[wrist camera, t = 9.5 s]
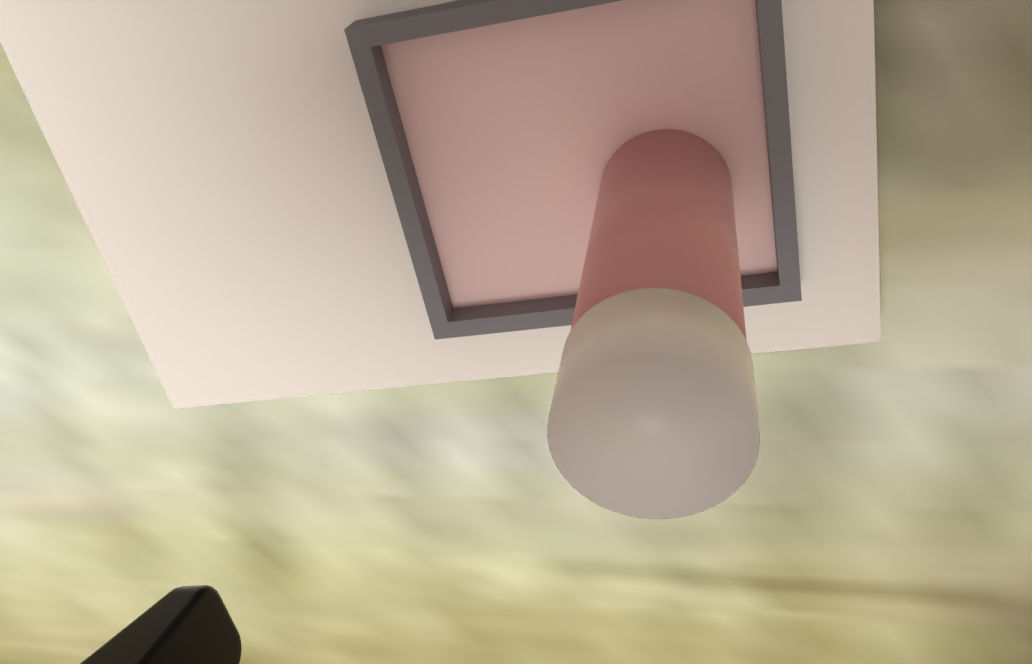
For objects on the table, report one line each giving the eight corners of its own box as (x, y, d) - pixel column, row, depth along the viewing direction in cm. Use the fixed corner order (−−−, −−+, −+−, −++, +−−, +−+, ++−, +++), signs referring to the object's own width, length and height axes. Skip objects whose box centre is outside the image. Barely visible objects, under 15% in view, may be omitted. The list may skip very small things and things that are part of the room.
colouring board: (845, -776, 13) (885, -912, 10) (872, 317, 21) (899, 395, 18) (-172, -411, 16) (-326, -442, 14) (190, 386, 25) (134, 457, 22)
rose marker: (740, 243, 19) (768, 512, 12) (609, 259, 20) (567, 524, 13) (727, 116, 18) (749, 341, 11) (586, 137, 18) (528, 362, 12)
